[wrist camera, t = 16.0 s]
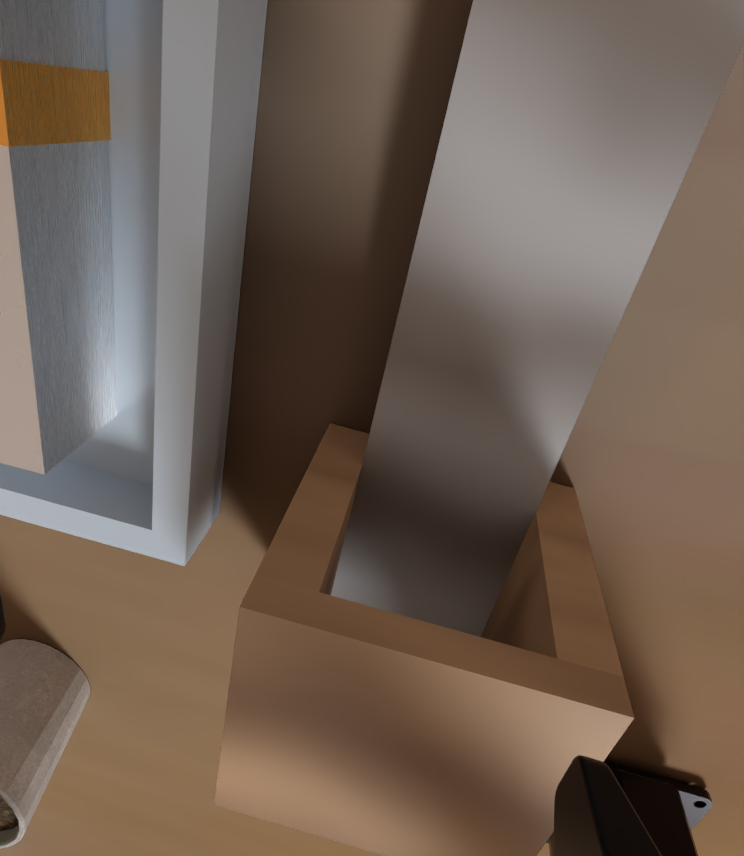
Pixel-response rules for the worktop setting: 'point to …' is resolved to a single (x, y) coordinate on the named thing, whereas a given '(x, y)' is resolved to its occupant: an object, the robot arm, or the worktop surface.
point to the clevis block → (476, 457)
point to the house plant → (33, 726)
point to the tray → (165, 279)
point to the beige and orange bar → (54, 231)
